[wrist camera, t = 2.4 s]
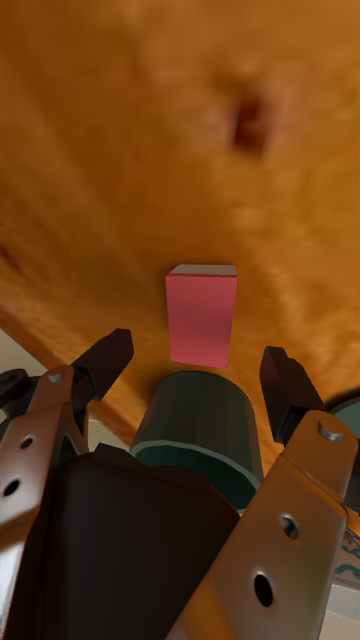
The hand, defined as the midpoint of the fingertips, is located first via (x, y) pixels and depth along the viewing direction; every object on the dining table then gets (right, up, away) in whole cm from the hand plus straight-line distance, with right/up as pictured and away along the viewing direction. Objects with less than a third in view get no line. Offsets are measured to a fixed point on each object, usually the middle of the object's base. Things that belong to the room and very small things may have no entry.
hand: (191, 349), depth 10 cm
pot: (+2, -10, +12) cm, 15 cm away
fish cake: (+2, +3, +5) cm, 6 cm away
